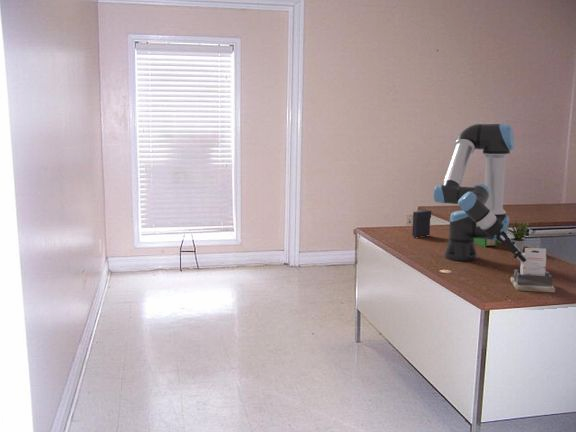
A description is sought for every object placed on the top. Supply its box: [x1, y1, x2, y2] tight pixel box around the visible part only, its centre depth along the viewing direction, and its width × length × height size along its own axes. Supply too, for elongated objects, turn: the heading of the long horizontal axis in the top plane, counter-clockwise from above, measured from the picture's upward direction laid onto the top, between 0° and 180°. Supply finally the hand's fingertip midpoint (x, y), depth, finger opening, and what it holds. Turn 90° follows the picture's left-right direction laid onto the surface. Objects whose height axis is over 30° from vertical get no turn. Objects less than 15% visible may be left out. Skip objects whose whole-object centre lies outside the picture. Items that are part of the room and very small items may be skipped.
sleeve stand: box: [510, 268, 556, 293], centre depth 219 cm, size 14×14×6 cm
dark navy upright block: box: [411, 209, 432, 238], centre depth 313 cm, size 11×4×15 cm, turn 122°
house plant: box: [506, 220, 531, 253], centre depth 277 cm, size 14×14×16 cm
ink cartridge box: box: [519, 247, 547, 276], centre depth 218 cm, size 9×5×15 cm, turn 80°
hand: (526, 262), depth 218 cm, fingers open, 13 cm apart
